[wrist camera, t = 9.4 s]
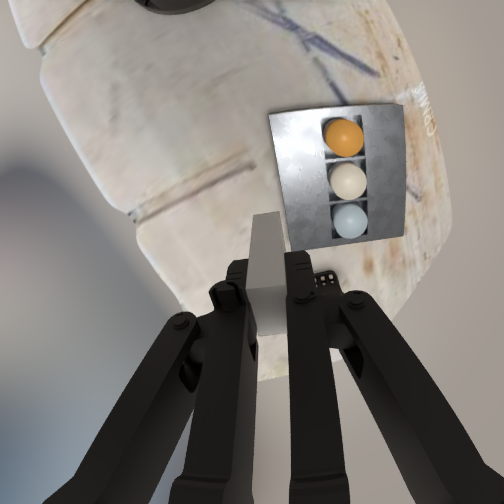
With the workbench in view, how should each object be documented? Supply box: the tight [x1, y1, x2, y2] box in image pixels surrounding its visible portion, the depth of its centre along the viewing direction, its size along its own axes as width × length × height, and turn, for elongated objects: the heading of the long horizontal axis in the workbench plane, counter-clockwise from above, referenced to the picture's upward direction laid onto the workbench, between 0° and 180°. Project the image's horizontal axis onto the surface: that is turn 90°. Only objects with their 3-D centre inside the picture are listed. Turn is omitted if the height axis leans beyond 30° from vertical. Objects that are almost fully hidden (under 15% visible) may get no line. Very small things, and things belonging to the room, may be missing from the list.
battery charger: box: [314, 271, 344, 299], centre depth 44 cm, size 7×4×11 cm, turn 107°
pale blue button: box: [331, 201, 368, 239], centre depth 39 cm, size 5×5×3 cm
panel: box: [269, 103, 406, 252], centre depth 37 cm, size 20×18×3 cm
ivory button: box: [328, 160, 367, 200], centre depth 36 cm, size 5×5×3 cm
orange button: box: [323, 118, 364, 157], centre depth 33 cm, size 5×5×3 cm
